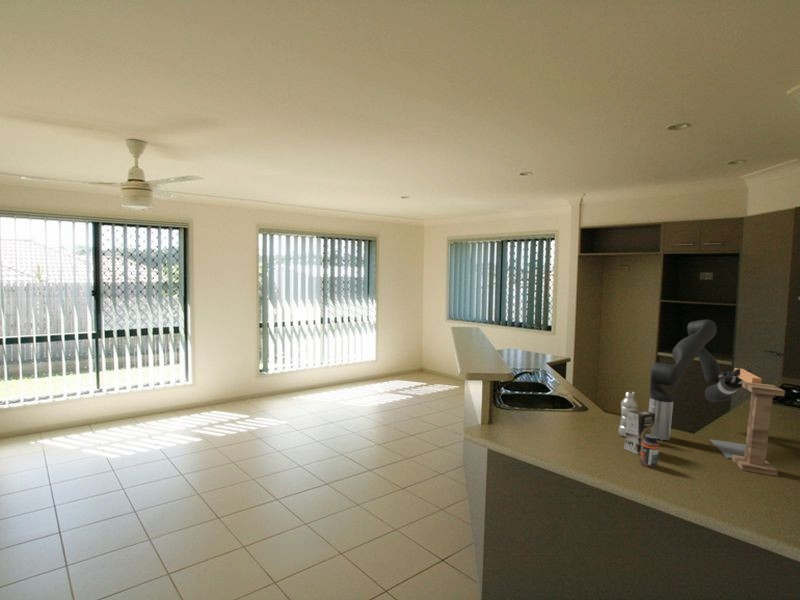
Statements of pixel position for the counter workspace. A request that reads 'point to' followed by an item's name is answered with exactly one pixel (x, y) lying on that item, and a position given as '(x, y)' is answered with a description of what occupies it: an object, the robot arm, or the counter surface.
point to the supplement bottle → (649, 451)
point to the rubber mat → (730, 448)
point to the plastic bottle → (626, 410)
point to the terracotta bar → (748, 376)
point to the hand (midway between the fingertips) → (744, 371)
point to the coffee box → (638, 429)
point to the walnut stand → (758, 429)
